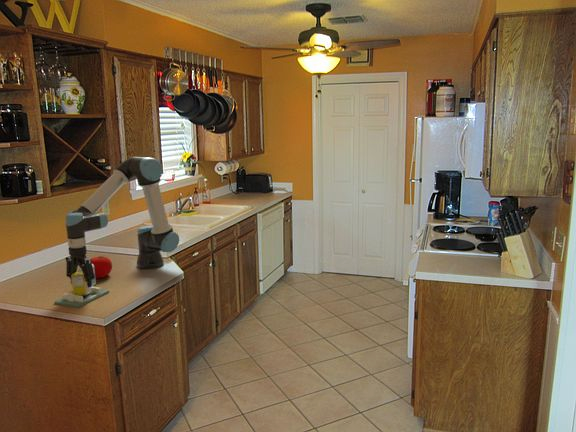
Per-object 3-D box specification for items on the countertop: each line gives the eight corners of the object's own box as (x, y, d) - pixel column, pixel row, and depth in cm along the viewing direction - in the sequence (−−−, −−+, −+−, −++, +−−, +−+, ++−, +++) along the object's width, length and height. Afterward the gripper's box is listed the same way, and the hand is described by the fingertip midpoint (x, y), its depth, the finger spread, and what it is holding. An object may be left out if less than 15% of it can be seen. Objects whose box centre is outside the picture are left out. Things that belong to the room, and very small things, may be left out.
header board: (86, 288, 235) (86, 280, 234) (109, 292, 230) (108, 283, 229) (54, 303, 217) (53, 294, 216) (77, 307, 212) (76, 298, 211)
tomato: (81, 278, 250) (79, 258, 248) (102, 271, 262) (100, 251, 260) (98, 282, 245) (96, 261, 242) (118, 274, 257) (116, 254, 254)
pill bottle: (80, 284, 242) (77, 259, 239) (95, 282, 245) (93, 257, 242) (80, 288, 235) (77, 263, 232) (95, 286, 238) (93, 261, 235)
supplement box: (90, 292, 226) (88, 270, 224) (86, 296, 221) (83, 274, 218) (78, 292, 226) (76, 270, 224) (73, 297, 220) (70, 275, 218)
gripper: (54, 246, 219) (59, 292, 223) (88, 250, 211) (93, 297, 216) (66, 242, 225) (71, 286, 230) (100, 246, 218) (104, 292, 223)
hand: (82, 292), depth 223 cm, fingers closed on supplement box, 7 cm apart
